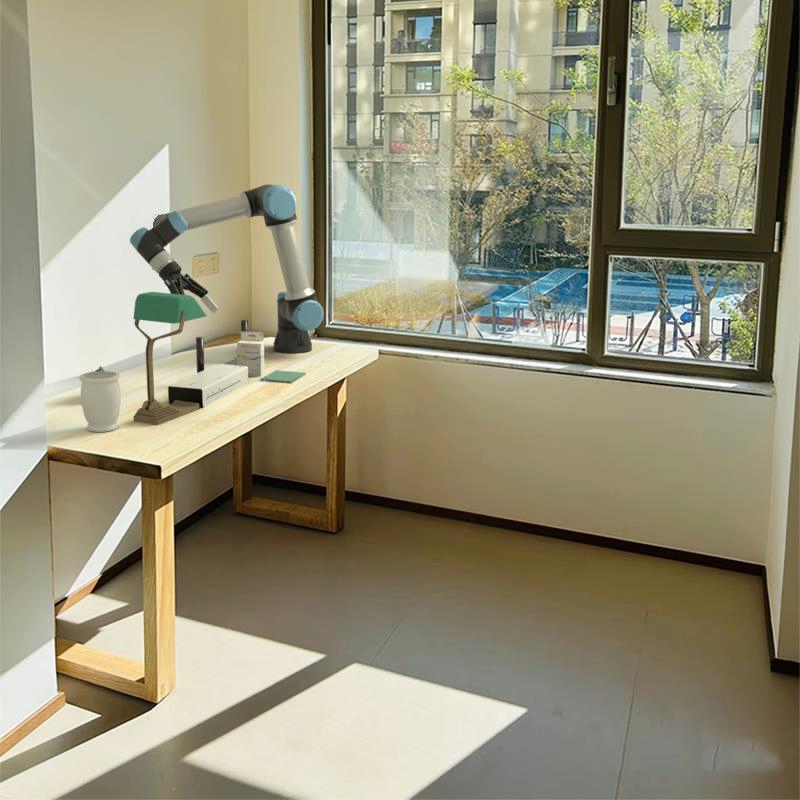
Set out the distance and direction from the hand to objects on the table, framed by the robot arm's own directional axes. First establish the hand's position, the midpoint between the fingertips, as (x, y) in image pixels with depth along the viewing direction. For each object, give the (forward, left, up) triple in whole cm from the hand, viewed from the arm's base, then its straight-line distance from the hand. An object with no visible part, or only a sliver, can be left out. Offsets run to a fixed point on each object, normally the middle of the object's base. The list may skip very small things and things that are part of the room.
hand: (207, 313), depth 318 cm
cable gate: (-1, +6, -20) cm, 21 cm away
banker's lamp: (+55, +14, -21) cm, 60 cm away
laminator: (+28, +14, -21) cm, 38 cm away
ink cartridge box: (-1, +16, -21) cm, 26 cm away
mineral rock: (+43, -14, -21) cm, 50 cm away
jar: (+73, +4, -21) cm, 76 cm away
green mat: (-1, +28, -20) cm, 34 cm away
